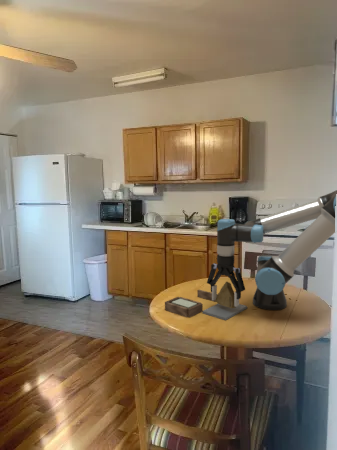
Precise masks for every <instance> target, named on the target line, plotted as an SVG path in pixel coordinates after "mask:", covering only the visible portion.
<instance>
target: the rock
mask: <svg viewBox="0 0 337 450" xmlns="http://www.w3.org/2000/svg"><path fill="white" fill-rule="evenodd" d="M233 288H234V287H233V285H232V283H231V282H229V281H225V282H224V284H223V285H222V286H221V288H220V290H219V292H217V294H218V295H217V297H216V300H215V303H216V304H220V305H223V306H226V307H229V308H236V307H235V306H234V295H235V291H234V289H233Z"/></svg>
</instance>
